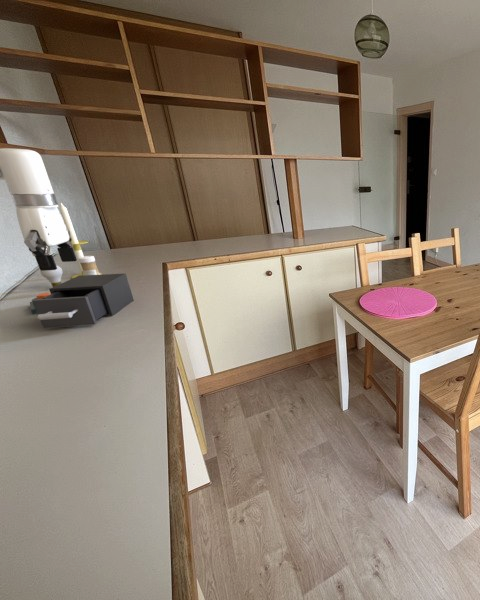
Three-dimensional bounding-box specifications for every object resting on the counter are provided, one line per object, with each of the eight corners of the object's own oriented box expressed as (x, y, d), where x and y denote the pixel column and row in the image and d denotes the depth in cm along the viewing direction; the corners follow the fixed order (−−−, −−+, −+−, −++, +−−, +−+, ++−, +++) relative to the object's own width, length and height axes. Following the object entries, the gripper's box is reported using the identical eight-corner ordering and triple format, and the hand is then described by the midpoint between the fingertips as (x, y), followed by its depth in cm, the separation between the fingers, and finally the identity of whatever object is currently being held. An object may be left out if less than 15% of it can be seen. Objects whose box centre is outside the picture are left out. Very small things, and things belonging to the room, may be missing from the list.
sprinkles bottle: (107, 287, 129) (96, 255, 125) (100, 290, 125) (89, 258, 121) (93, 287, 128) (82, 255, 124) (86, 291, 124) (74, 258, 119)
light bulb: (46, 291, 123) (36, 267, 119) (49, 287, 127) (39, 263, 124) (67, 288, 126) (58, 264, 123) (69, 285, 131) (60, 261, 127)
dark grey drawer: (86, 330, 92) (75, 302, 89) (32, 335, 88) (19, 306, 85) (118, 307, 108) (110, 283, 104) (73, 311, 104) (64, 286, 101)
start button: (54, 298, 108) (52, 294, 107) (38, 301, 105) (36, 296, 105) (53, 296, 110) (51, 291, 109) (38, 299, 108) (36, 294, 107)
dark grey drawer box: (112, 316, 103) (102, 285, 100) (61, 320, 100) (48, 288, 96) (133, 300, 116) (125, 273, 113) (89, 303, 113) (79, 275, 109)
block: (67, 307, 109) (63, 298, 107) (33, 314, 103) (28, 304, 102) (64, 300, 115) (60, 291, 113) (31, 306, 109) (27, 297, 108)
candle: (104, 275, 144) (80, 202, 133) (75, 280, 137) (46, 203, 125) (97, 271, 149) (73, 200, 138) (68, 276, 142) (40, 201, 130)
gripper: (38, 199, 87) (60, 259, 93) (-11, 203, 72) (20, 275, 78) (73, 199, 90) (92, 257, 96) (33, 204, 75) (59, 272, 81)
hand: (59, 265), depth 87 cm, fingers open, 9 cm apart
